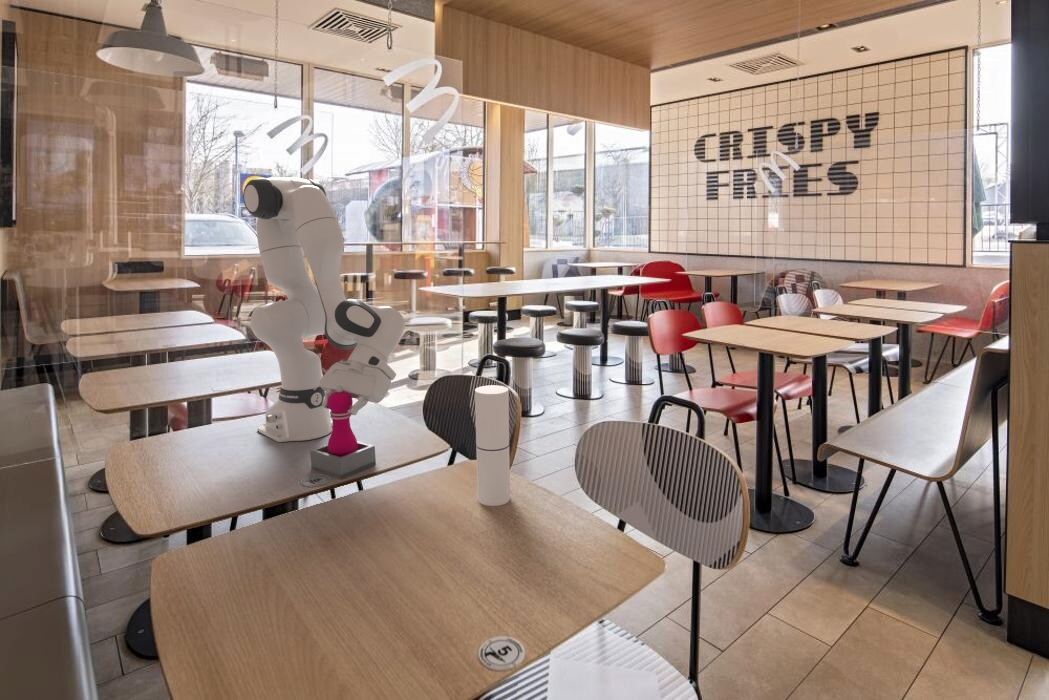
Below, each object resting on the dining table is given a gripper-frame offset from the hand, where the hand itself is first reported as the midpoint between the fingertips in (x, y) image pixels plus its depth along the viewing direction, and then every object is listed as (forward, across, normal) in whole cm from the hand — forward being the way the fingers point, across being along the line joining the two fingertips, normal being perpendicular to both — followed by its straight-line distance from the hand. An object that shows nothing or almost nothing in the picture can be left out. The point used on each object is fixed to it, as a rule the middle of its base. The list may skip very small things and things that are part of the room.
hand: (337, 410), depth 156 cm
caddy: (+10, 0, +11) cm, 15 cm away
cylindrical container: (+6, +42, +15) cm, 46 cm away
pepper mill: (+10, 0, +10) cm, 14 cm away
